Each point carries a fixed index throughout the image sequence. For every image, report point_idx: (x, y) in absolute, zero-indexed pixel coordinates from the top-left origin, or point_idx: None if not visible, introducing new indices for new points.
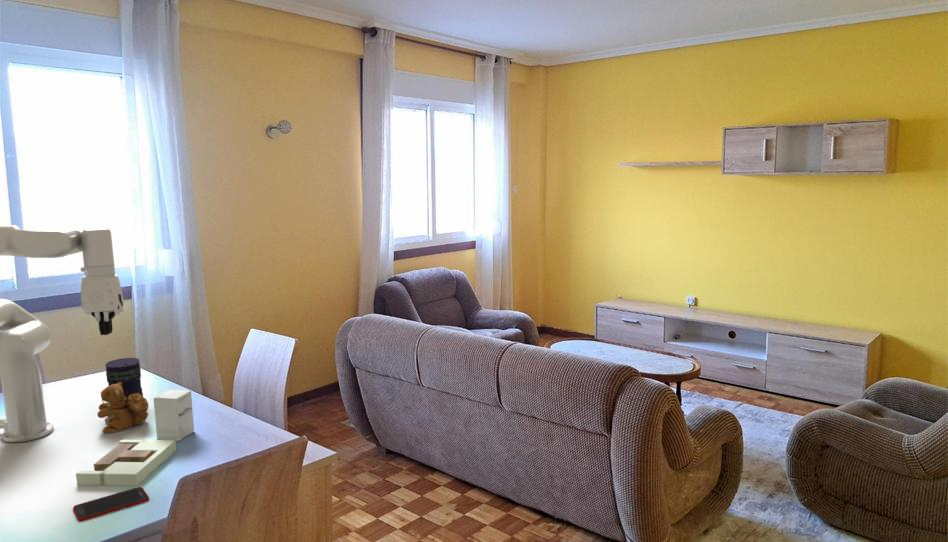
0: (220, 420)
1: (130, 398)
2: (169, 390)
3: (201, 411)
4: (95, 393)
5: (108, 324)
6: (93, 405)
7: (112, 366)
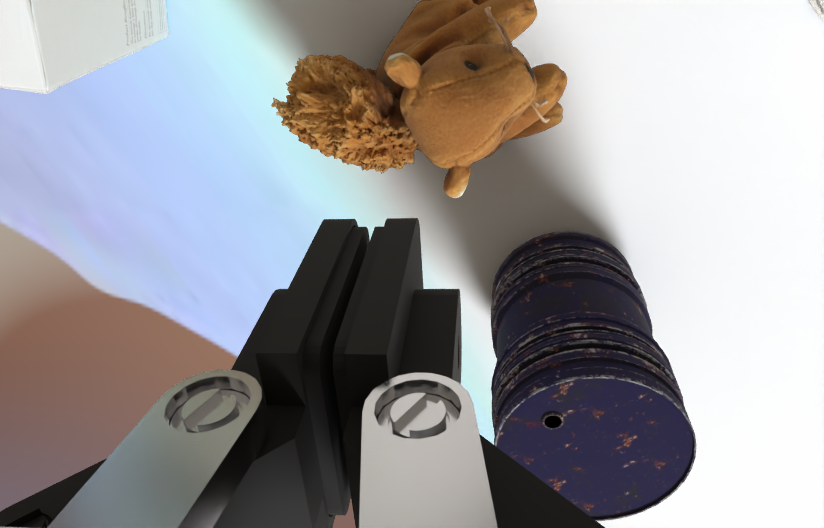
0: (40, 161)
1: (351, 93)
2: (27, 69)
3: (193, 254)
4: (800, 434)
5: (242, 354)
6: (740, 309)
7: (621, 391)
